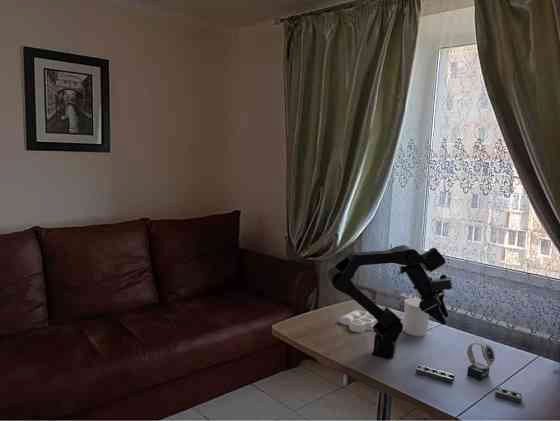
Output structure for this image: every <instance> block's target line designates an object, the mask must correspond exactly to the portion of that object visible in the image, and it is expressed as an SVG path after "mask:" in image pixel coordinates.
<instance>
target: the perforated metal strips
mask: <svg viewBox="0 0 560 421" xmlns="http://www.w3.org/2000/svg"><path fill="white" fill-rule="evenodd" d="M415 375H418V376H422V377H425V378H429V379H431V380H435V381H439V382H442V383H446V384H447V385H448V384H449V385H453V381H454V380H455V374H453V373H450V372H447V371H443V370H440V369H435V368H432V367H428V366H424V365H421V364H418V365H417V367H416V368H415ZM494 397H495V398H496V399H500V400H503V401H507V402H511V403H514V404H516V405H521V404H522V401H523V393H521V392H517V391H513V390H510V389H507V388H504V387H499V386H496V390H495V395H494Z"/></svg>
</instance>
